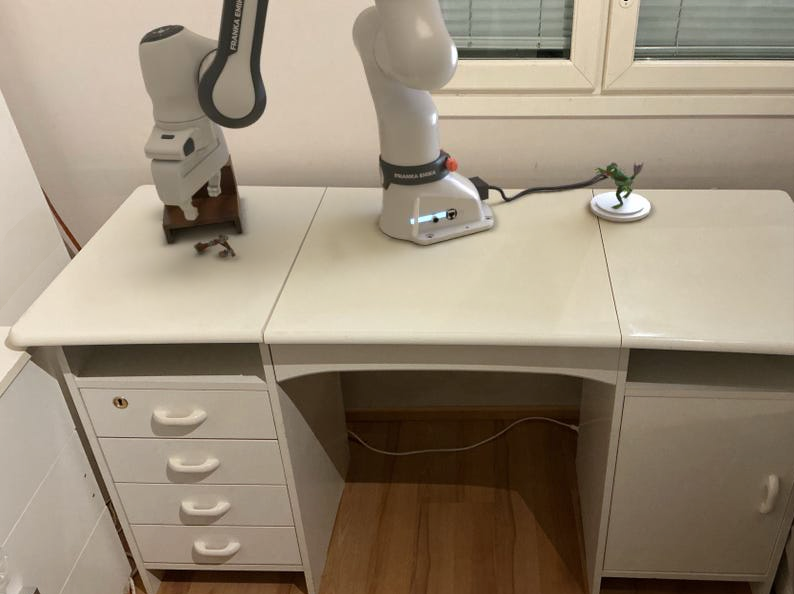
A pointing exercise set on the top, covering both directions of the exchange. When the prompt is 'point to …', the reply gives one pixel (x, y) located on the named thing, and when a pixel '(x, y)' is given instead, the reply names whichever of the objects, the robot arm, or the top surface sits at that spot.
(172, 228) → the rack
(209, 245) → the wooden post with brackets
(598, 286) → the top surface
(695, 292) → the top surface
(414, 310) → the top surface
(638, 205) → the frog figurine
